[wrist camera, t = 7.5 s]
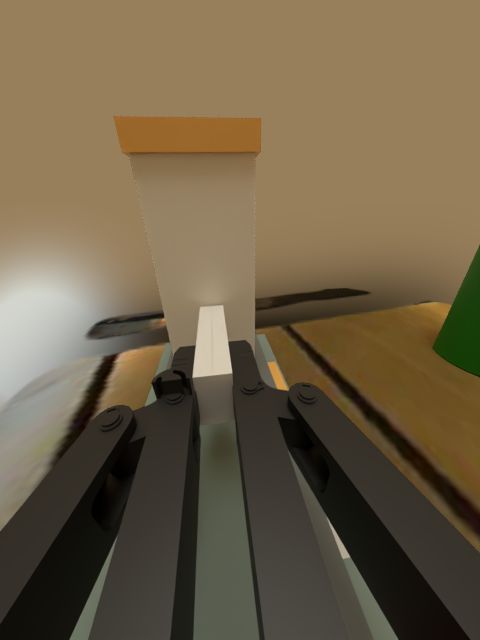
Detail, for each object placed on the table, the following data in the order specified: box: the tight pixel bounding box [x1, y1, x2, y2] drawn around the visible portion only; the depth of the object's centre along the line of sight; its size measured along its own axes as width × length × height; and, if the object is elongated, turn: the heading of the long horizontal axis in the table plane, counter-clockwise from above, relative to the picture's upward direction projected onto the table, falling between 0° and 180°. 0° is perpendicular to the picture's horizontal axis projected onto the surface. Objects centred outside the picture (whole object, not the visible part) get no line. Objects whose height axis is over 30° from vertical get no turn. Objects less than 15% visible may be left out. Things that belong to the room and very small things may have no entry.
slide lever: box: [114, 116, 261, 357], centre depth 15 cm, size 4×6×17 cm, turn 97°
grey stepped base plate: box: [70, 332, 398, 640], centre depth 16 cm, size 22×12×4 cm, turn 7°
